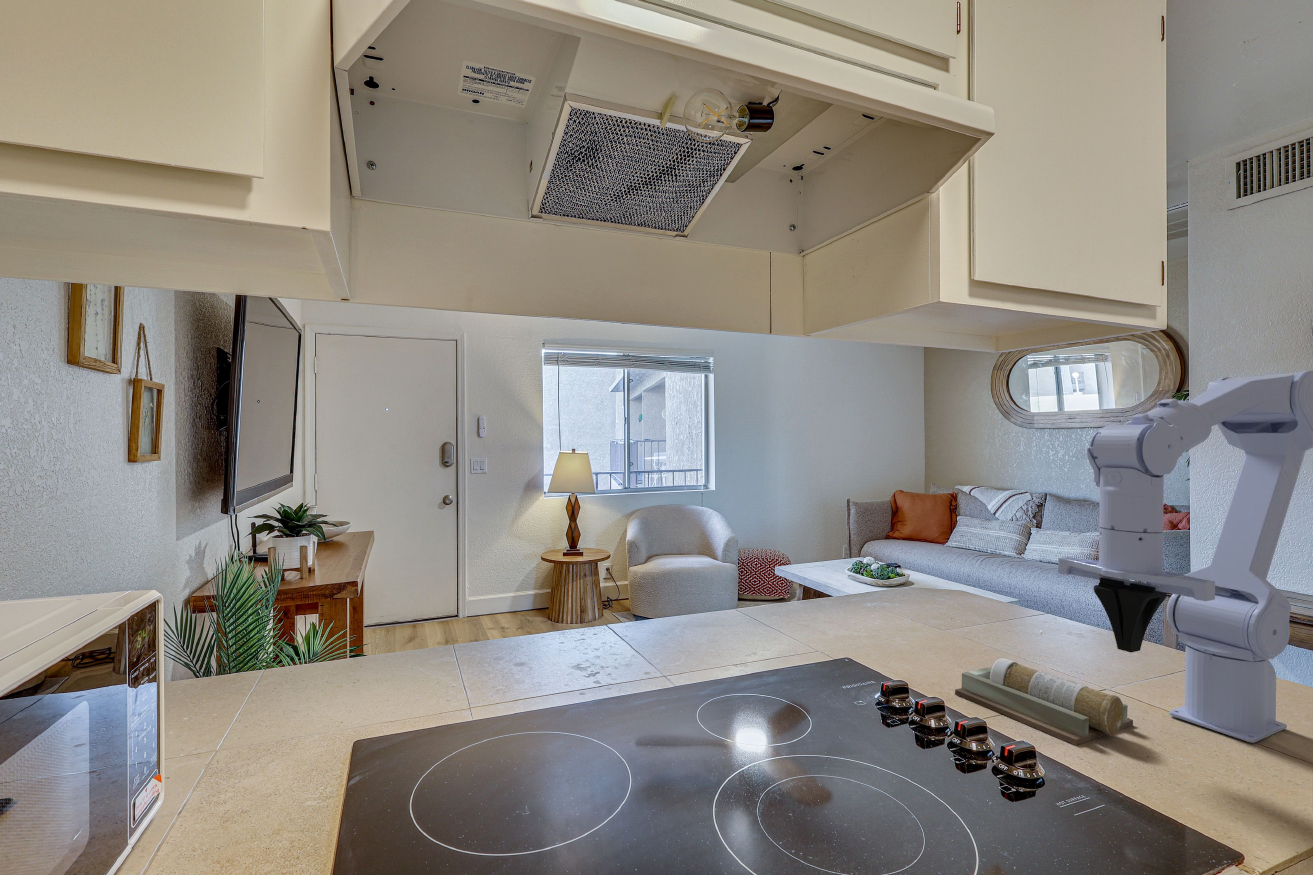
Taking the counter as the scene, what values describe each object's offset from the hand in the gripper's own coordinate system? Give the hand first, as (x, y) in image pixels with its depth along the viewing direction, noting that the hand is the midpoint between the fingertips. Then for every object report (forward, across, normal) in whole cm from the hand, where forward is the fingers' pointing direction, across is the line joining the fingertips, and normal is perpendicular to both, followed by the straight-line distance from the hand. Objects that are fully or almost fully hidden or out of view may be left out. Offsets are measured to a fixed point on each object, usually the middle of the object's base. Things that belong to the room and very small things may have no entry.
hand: (1128, 649), depth 68 cm
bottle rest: (+10, -10, -1) cm, 14 cm away
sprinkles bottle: (+8, 0, -1) cm, 8 cm away
